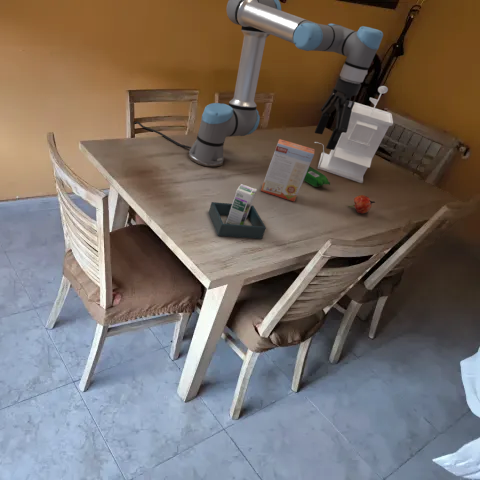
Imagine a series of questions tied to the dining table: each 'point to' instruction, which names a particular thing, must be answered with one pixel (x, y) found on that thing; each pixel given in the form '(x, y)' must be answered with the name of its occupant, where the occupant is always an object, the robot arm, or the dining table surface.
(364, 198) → the pomegranate
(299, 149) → the cracker box
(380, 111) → the white toy machine
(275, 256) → the dining table surface
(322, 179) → the snack package
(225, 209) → the bin
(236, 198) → the syrup box
